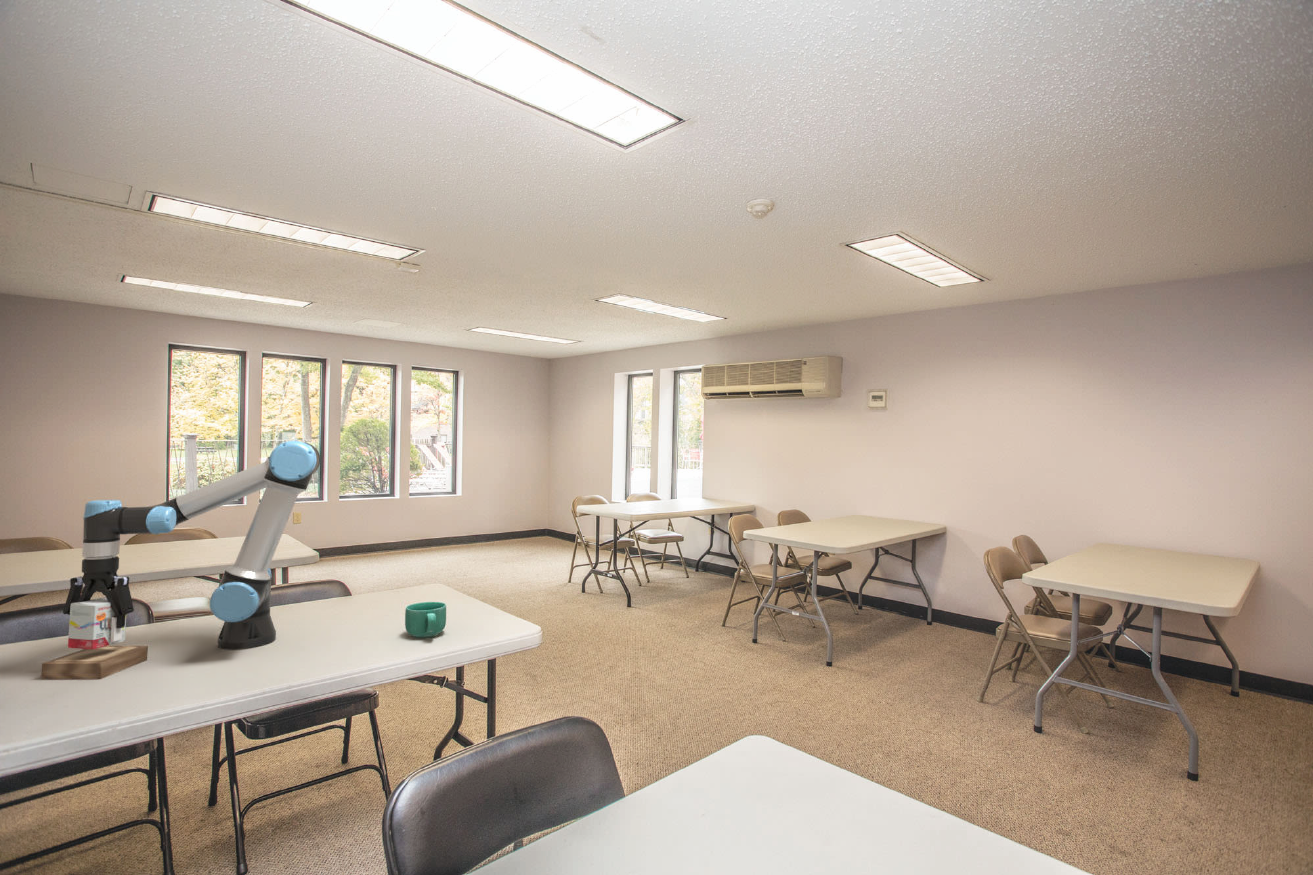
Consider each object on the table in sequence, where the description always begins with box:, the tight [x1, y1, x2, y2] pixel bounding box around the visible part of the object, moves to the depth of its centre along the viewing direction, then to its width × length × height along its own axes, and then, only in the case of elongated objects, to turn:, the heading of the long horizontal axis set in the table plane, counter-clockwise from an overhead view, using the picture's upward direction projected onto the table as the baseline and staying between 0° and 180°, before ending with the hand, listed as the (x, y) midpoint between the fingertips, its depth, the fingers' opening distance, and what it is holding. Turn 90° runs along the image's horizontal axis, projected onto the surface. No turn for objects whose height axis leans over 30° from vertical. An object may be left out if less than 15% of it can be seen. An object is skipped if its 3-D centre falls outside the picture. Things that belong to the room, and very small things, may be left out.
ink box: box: [67, 596, 127, 650], centre depth 166 cm, size 9×9×12 cm
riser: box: [40, 645, 149, 680], centre depth 166 cm, size 15×15×4 cm
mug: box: [404, 601, 447, 639], centre depth 198 cm, size 17×13×10 cm
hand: (97, 640), depth 166 cm, fingers closed on ink box, 9 cm apart
